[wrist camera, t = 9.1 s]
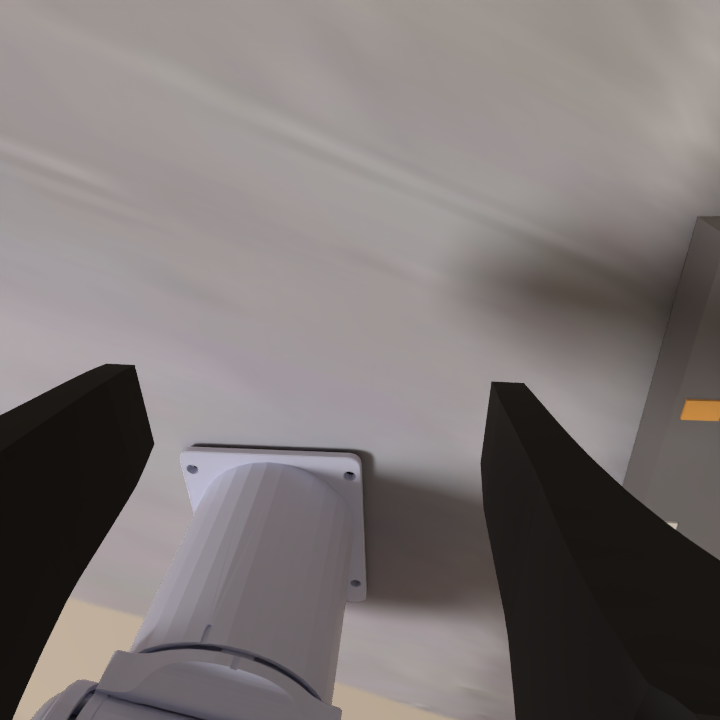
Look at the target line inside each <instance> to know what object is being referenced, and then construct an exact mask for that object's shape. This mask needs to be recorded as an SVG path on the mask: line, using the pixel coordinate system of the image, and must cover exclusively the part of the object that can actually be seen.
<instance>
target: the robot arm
mask: <svg viewBox="0 0 720 720" xmlns="http://www.w3.org/2000/svg"><path fill="white" fill-rule="evenodd" d="M153 446H154V441H153V437H152V433H151V429H150V425H149V421H148V417H147V413H146V409H145V405H144V401H143V397H142V393H141V389H140V385H139V381H138V377H137V373H136V369H135V365H121V364H105V365H102V366H99V367H97V368H94V369H92V370H90V371H88V372H86V373H83V374H81V375H79V376H77V377H75V378H73V379H71V380H69V381H67V382H65V383H63V384H61V385H59V386H57V387H55V388H53V389H51V390H49V391H47V392H45V393H43V394H41V395H40V396H38V397H36V398H34V399H32V400H30V401H28V402H26V403H24V404H22V405H20V406H18V407H16V408H14V409H12V410H10V411H8V412H6V413H4V414H2V415H0V720H12V719H13V716H14V714H15V712H16V709H17V707H18V704H19V702H20V700H21V697H22V695H23V693H24V691H25V688H26V686H27V684H28V682H29V680H30V677H31V675H32V673H33V671H34V668H35V666H36V664H37V662H38V660H39V657H40V655H41V653H42V651H43V648H44V646H45V644H46V642H47V640H48V638H49V636H50V634H51V632H52V630H53V628H54V626H55V624H56V622H57V620H58V618H59V615H60V614H61V611H62V609H63V607H64V605H65V603H66V601H67V599H68V598H69V596H70V594H71V592H72V591H73V589H74V587H75V585H76V584H77V582H78V580H79V578H80V577H81V575H82V573H83V572H84V570H85V569H86V567H87V565H88V564H89V562H90V561H91V559H92V557H93V556H94V554H95V553H96V551H97V549H98V548H99V546H100V544H101V543H102V541H103V540H104V538H105V536H106V535H107V533H108V532H109V530H110V528H111V527H112V525H113V524H114V522H115V520H116V519H117V517H118V515H119V514H120V512H121V511H122V509H123V507H124V506H125V504H126V502H127V501H128V499H129V497H130V496H131V494H132V492H133V491H134V489H135V487H136V485H137V483H138V481H139V479H140V477H141V474H142V472H143V470H144V468H145V466H146V463H147V461H148V458H149V456H150V453H151V451H152V448H153ZM180 462H181V466H182V470H183V474H184V478H185V482H186V486H187V490H188V494H189V498H190V501H191V505H192V509H193V513H194V516H193V518H192V520H191V522H190V524H189V526H188V528H187V530H186V532H185V534H184V537H183V539H182V541H181V543H180V545H179V547H178V549H177V551H176V553H175V555H174V558H173V560H172V562H171V564H170V566H169V568H168V570H167V572H166V574H165V576H164V579H163V581H162V583H161V585H160V587H159V589H158V591H157V593H156V595H155V597H154V600H153V602H152V604H151V606H150V608H149V610H148V612H147V614H146V616H145V618H144V621H143V623H142V625H141V627H140V629H139V631H138V633H137V636H136V637H135V639H134V642H133V644H132V646H131V648H130V650H129V652H125V651H120V650H117V651H115V652H114V654H113V656H112V658H111V660H110V662H109V664H108V666H107V668H106V670H105V672H104V674H103V676H102V678H101V680H100V682H99V684H98V683H96V682H93V681H89V680H77V681H76V682H74V683H72V684H71V685H69V686H68V687H67V688H66V689H65V690H64V691H62V692H61V693H59V694H57V695H56V696H54V697H52V698H51V699H49V700H48V701H47V702H46V703H45V704H44V705H43V706H42V707H41V708H40V709H39V710H38V711H37V712H36V714H35V715H34V716H33V717H32V719H31V720H341V714H342V710H341V709H340V708H338V707H335V706H332V705H331V704H332V697H333V690H334V683H335V676H336V668H337V661H338V654H339V646H340V639H341V632H342V625H343V617H344V610H345V603H346V602H361V601H364V600H365V599H366V594H367V583H366V559H365V534H364V509H363V484H362V462H361V459H360V458H359V457H358V456H357V455H355V454H353V453H340V452H314V451H289V450H264V449H239V448H213V447H186V448H185V449H184V450H183V451H182V453H181V455H180ZM191 465H194V466H196V467H197V468H195V467H193V466H191ZM346 472H353V473H354V474H352V475H350V474H347V473H346ZM481 477H482V492H483V505H484V512H485V518H486V523H487V528H488V533H489V539H490V544H491V549H492V554H493V559H494V564H495V569H496V574H497V579H498V584H499V589H500V594H501V599H502V604H503V609H504V614H505V621H506V627H507V634H508V641H509V652H510V662H511V672H512V682H513V693H514V704H515V716H516V720H720V560H719V559H717V558H716V557H714V556H713V555H711V554H710V553H708V552H707V551H705V550H704V549H702V548H701V547H700V546H698V545H697V544H695V543H694V542H692V541H691V540H689V539H688V538H687V537H685V536H684V535H682V534H681V533H680V532H678V531H677V530H676V529H674V528H673V527H671V526H670V525H669V524H668V523H666V522H665V521H664V520H662V519H661V518H660V517H659V516H657V515H656V514H655V513H654V512H652V511H651V510H650V509H649V508H647V507H646V506H645V505H644V504H642V503H641V502H640V501H639V500H637V499H636V498H635V497H634V496H633V495H631V494H630V493H629V492H628V491H627V490H626V489H624V488H623V487H622V486H621V485H620V484H619V483H618V482H617V481H615V480H614V479H613V478H612V477H611V476H610V475H609V474H608V473H607V472H606V471H605V470H604V469H603V468H602V467H600V466H599V465H598V464H597V463H596V462H595V461H594V460H593V459H592V458H591V457H590V456H589V455H588V454H587V453H586V452H585V451H584V450H583V449H582V448H581V447H580V446H579V445H578V444H577V443H576V441H575V440H574V439H573V438H572V437H571V436H570V435H569V434H568V433H567V432H566V431H565V430H564V429H563V427H562V426H561V425H560V424H559V423H558V422H557V421H556V420H555V418H554V417H553V416H552V415H551V414H550V413H549V412H548V410H547V409H546V408H545V407H544V406H543V405H542V403H541V402H540V401H539V400H538V399H537V398H536V396H535V395H534V394H533V393H532V392H531V391H530V390H529V388H528V387H527V386H526V385H525V384H524V383H510V382H492V383H491V390H490V397H489V405H488V412H487V420H486V427H485V435H484V442H483V449H482V457H481Z"/></svg>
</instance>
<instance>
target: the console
mask: <svg viewBox="0 0 720 720" xmlns="http://www.w3.org/2000/svg"><path fill="white" fill-rule="evenodd" d="M623 488H624V489H626V490H627V491H628V492H629V493H630V494H631V495H633V496H634V497H635V498H636V499H637V500H639V501H640V502H641V503H642V504H644V505H645V506H646V507H647V508H649V509H650V510H651V511H652V512H654V513H655V514H656V515H657V516H659V517H660V518H661V519H662V520H664V521H665V522H666V523H668V524H669V525H670V526H671V527H673V528H674V529H676V530H677V531H678V532H680V533H681V534H682V535H684V536H685V537H687V538H688V539H689V540H691V541H692V542H694V543H695V544H697V545H698V546H700V547H701V548H702V549H704V550H705V551H707V552H708V553H710V554H711V555H713V556H714V557H716V558H717V559H719V560H720V217H697V221H696V225H695V228H694V232H693V235H692V239H691V243H690V246H689V250H688V253H687V257H686V261H685V264H684V268H683V271H682V275H681V278H680V282H679V286H678V289H677V293H676V296H675V300H674V304H673V307H672V311H671V314H670V318H669V322H668V325H667V329H666V332H665V336H664V339H663V343H662V347H661V350H660V354H659V357H658V361H657V365H656V368H655V372H654V375H653V379H652V382H651V386H650V390H649V393H648V397H647V400H646V404H645V408H644V411H643V415H642V418H641V422H640V426H639V429H638V433H637V436H636V440H635V443H634V447H633V451H632V454H631V458H630V461H629V465H628V469H627V472H626V476H625V479H624V483H623Z"/></svg>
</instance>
